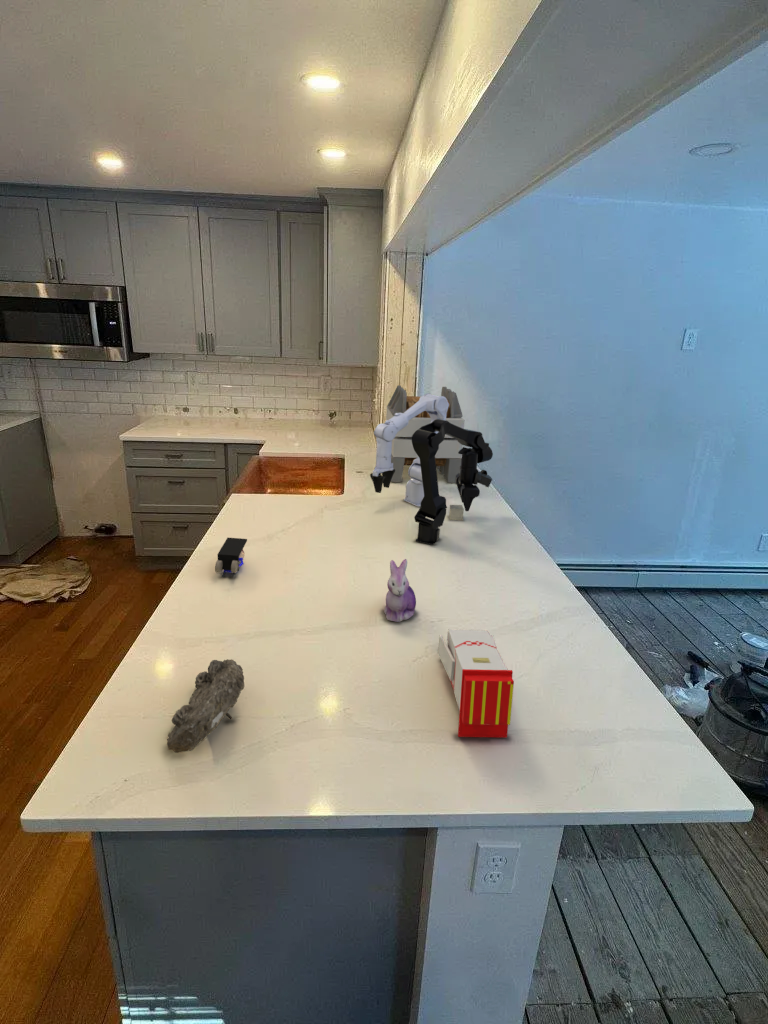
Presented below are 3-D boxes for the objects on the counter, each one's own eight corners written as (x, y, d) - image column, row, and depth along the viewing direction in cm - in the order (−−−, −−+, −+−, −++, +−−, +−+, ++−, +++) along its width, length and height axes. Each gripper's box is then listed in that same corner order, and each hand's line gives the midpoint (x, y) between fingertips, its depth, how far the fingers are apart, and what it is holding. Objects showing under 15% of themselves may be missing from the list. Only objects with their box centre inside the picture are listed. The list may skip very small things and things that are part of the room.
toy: (488, 613, 130) (523, 677, 101) (484, 667, 133) (517, 744, 104) (435, 612, 130) (455, 676, 101) (432, 666, 133) (451, 743, 103)
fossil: (192, 660, 117) (244, 628, 112) (224, 691, 120) (276, 661, 115) (142, 746, 98) (202, 712, 93) (182, 779, 101) (242, 748, 96)
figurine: (392, 627, 141) (395, 572, 136) (374, 608, 149) (376, 556, 144) (425, 619, 145) (429, 566, 140) (405, 601, 154) (408, 550, 149)
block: (450, 520, 215) (451, 508, 214) (448, 516, 219) (450, 504, 218) (462, 520, 215) (463, 508, 214) (460, 516, 219) (462, 505, 218)
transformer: (382, 463, 289) (386, 382, 275) (445, 464, 293) (451, 384, 279) (390, 482, 257) (394, 392, 243) (460, 483, 261) (468, 394, 247)
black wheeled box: (238, 584, 162) (249, 557, 175) (236, 562, 158) (247, 536, 172) (215, 584, 161) (227, 556, 175) (212, 561, 158) (225, 535, 171)
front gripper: (496, 473, 192) (491, 516, 198) (486, 459, 210) (482, 499, 215) (463, 472, 192) (460, 515, 198) (457, 458, 210) (453, 498, 215)
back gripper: (385, 461, 207) (383, 496, 212) (400, 453, 220) (399, 486, 224) (368, 458, 210) (366, 493, 215) (384, 450, 222) (382, 483, 227)
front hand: (465, 506), depth 206 cm, fingers open, 9 cm apart
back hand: (382, 489), depth 220 cm, fingers open, 7 cm apart
